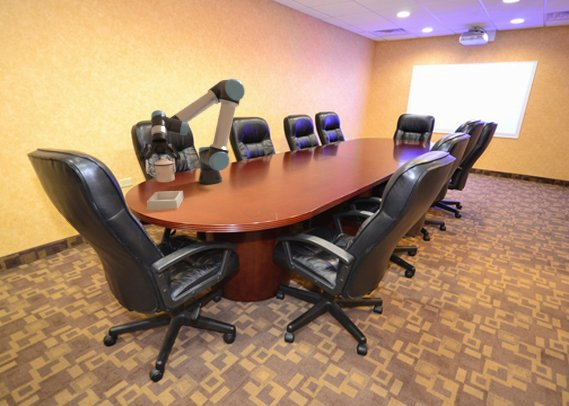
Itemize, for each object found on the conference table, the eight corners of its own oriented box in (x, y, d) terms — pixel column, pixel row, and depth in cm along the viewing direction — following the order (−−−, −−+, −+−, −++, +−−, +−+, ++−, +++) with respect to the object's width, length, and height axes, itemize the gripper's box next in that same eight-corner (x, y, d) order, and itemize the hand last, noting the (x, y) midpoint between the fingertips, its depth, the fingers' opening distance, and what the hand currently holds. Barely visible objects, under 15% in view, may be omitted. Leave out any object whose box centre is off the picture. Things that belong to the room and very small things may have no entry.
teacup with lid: (175, 177, 162) (172, 155, 158) (175, 181, 154) (172, 158, 150) (150, 179, 158) (147, 156, 155) (149, 183, 150) (145, 159, 146)
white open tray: (183, 198, 170) (182, 190, 168) (177, 209, 154) (176, 200, 152) (156, 199, 168) (155, 191, 167) (147, 210, 152) (146, 201, 151)
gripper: (184, 140, 168) (187, 174, 159) (135, 141, 161) (135, 177, 152) (183, 131, 162) (186, 165, 153) (132, 132, 155) (132, 168, 146)
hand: (161, 171), depth 153 cm, fingers closed on teacup with lid, 12 cm apart
